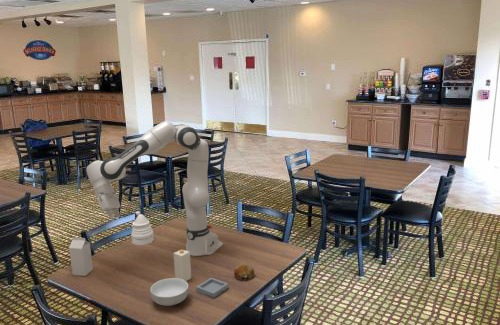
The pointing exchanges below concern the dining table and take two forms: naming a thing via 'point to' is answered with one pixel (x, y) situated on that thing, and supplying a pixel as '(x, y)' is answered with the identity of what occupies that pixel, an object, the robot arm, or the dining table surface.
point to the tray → (212, 287)
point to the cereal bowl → (169, 291)
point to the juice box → (182, 265)
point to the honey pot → (141, 230)
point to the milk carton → (80, 257)
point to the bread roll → (243, 272)
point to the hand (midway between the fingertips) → (115, 217)
